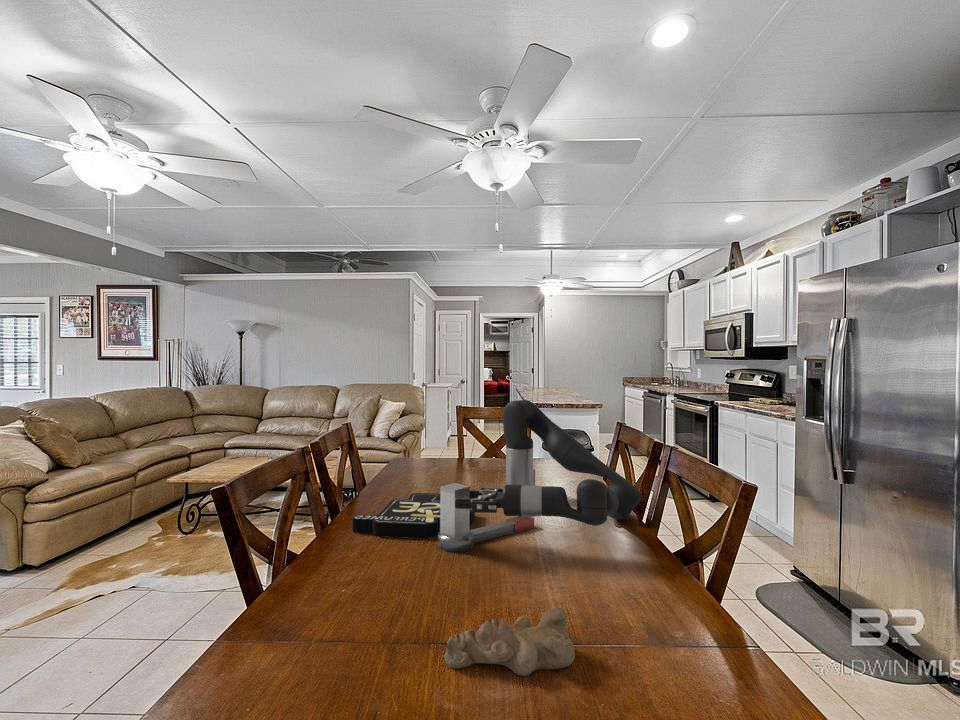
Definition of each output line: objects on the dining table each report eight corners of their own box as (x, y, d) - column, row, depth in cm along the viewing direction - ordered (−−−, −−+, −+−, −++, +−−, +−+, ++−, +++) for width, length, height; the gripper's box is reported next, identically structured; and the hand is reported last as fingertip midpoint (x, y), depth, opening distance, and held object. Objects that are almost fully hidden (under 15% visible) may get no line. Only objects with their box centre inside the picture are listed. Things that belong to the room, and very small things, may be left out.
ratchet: (519, 521, 141) (519, 496, 141) (540, 530, 133) (540, 504, 133) (431, 543, 123) (431, 515, 123) (450, 554, 116) (450, 524, 116)
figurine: (581, 642, 70) (443, 643, 69) (578, 688, 71) (442, 690, 70) (563, 591, 82) (445, 592, 81) (560, 632, 83) (444, 633, 82)
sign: (347, 521, 129) (381, 491, 158) (347, 536, 129) (381, 504, 158) (466, 526, 125) (478, 494, 155) (466, 541, 125) (478, 507, 155)
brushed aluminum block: (455, 529, 126) (455, 482, 126) (469, 534, 122) (469, 486, 122) (440, 534, 122) (440, 486, 122) (454, 539, 118) (454, 490, 118)
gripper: (521, 524, 112) (452, 522, 115) (525, 507, 126) (464, 506, 129) (520, 492, 112) (452, 490, 115) (525, 478, 126) (464, 477, 129)
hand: (458, 498), depth 122 cm, fingers open, 8 cm apart
